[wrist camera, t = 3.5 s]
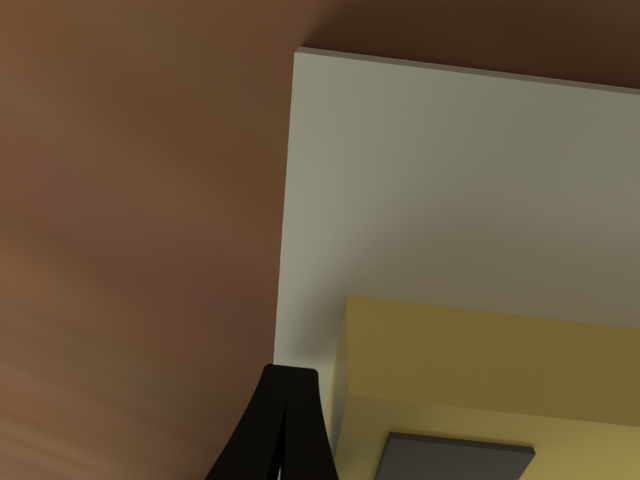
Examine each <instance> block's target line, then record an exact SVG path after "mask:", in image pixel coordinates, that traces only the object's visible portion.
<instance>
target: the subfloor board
mask: <svg viewBox="0 0 640 480" xmlns="http://www.w3.org/2000/svg"><path fill="white" fill-rule="evenodd" d="M347 296H355V297H364V298H373V299H381V300H390V301H399V302H407V303H416V304H425V305H434V306H442V307H451V308H460V309H469V310H477V311H486V312H495V313H504V314H512V315H521V316H530V317H539V318H547V319H556V320H565V321H574V322H582V323H591V324H600V325H609V326H617V327H626V328H635V329H640V89H634V88H626V87H618V86H610V85H602V84H594V83H586V82H578V81H570V80H562V79H555V78H547V77H539V76H531V75H523V74H515V73H507V72H499V71H491V70H483V69H475V68H467V67H459V66H451V65H443V64H435V63H427V62H419V61H411V60H403V59H395V58H387V57H379V56H371V55H363V54H355V53H347V52H339V51H331V50H323V49H315V48H307V47H299V48H298V49H297V50H296V51H295V53H294V68H293V83H292V97H291V112H290V127H289V141H288V156H287V171H286V185H285V200H284V215H283V229H282V244H281V259H280V273H279V288H278V303H277V317H276V332H275V347H274V361H273V364H275V365H284V366H293V367H302V368H311V369H315V370H316V371H317V372H318V373H319V391H320V399H321V405H322V411H323V417H324V422H325V414H326V408H327V403H328V397H329V392H330V386H331V381H332V375H333V370H334V364H335V359H336V353H337V348H338V342H339V337H340V331H341V326H342V320H343V315H344V309H345V304H346V298H347ZM280 468H281V466H280ZM278 480H280V471H279V476H278Z"/></svg>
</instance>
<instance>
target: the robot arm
mask: <svg viewBox="0 0 640 480" xmlns="http://www.w3.org/2000/svg"><path fill="white" fill-rule="evenodd" d="M280 466H281V468H280ZM279 471H280V480H339V478H338V474H337V471H336V467H335V463H334V460H333V456H332V452H331V448H330V444H329V440H328V436H327V431H326V427H325V422H324V417H323V411H322V405H321V399H320V391H319V373H318V372H317V371H316V370H315V369H311V368H302V367H293V366H284V365H275V364H268V365H266V366H265V367H264V370H263V373H262V375H261V378H260V380H259V383H258V385H257V388H256V390H255V392H254V394H253V396H252V398H251V400H250V402H249V404H248V406H247V408H246V410H245V412H244V414H243V416H242V418H241V420H240V422H239V423H238V425H237V427H236V429H235V430H234V432H233V434H232V436H231V438H230V439H229V441H228V443H227V445H226V446H225V448H224V450H223V451H222V453H221V454H220V456H219V458H218V459H217V461H216V462H215V464H214V465H213V467H212V469H211V470H210V472H209V473H208V475H207V477H206V478H205V480H278V476H279Z"/></svg>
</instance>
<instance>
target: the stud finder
mask: <svg viewBox="0 0 640 480" xmlns="http://www.w3.org/2000/svg"><path fill="white" fill-rule="evenodd" d="M325 427H326V431H327V436H328V440H329V444H330V448H331V452H332V456H333V460H334V463H335V467H336V471H337V474H338V478H339V480H640V329H635V328H626V327H617V326H609V325H600V324H591V323H582V322H574V321H565V320H556V319H547V318H539V317H530V316H521V315H512V314H504V313H495V312H486V311H477V310H469V309H460V308H451V307H442V306H434V305H425V304H416V303H407V302H399V301H390V300H381V299H373V298H364V297H355V296H347V298H346V304H345V309H344V315H343V320H342V326H341V331H340V337H339V342H338V348H337V353H336V359H335V364H334V370H333V375H332V381H331V386H330V392H329V397H328V403H327V408H326V414H325Z"/></svg>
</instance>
